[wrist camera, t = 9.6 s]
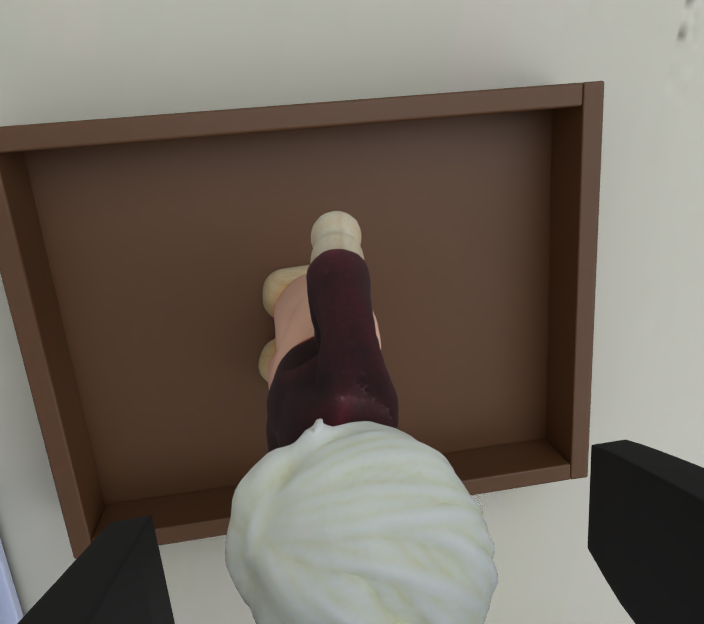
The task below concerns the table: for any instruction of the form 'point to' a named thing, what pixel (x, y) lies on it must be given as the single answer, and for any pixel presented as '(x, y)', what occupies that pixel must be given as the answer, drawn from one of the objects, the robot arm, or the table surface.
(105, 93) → the table surface
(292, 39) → the table surface
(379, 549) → the grandmother figurine
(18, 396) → the table surface
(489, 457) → the tray
